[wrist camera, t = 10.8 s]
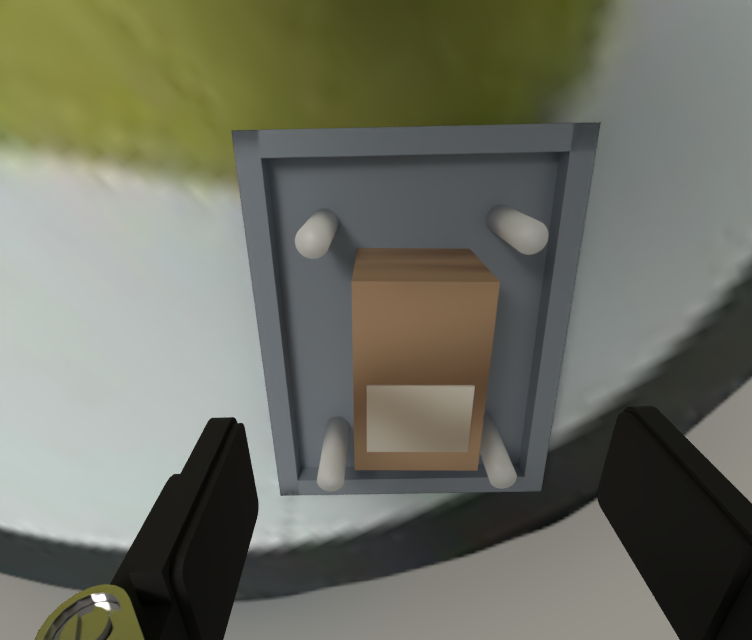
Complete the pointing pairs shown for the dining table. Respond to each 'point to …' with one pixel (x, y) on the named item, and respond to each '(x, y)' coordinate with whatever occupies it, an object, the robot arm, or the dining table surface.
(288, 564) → the dining table surface
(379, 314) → the labeled cardboard box
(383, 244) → the tray
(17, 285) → the dining table surface
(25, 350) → the dining table surface
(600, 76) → the dining table surface
